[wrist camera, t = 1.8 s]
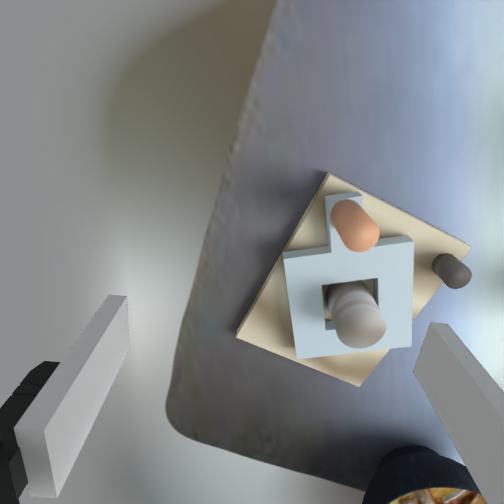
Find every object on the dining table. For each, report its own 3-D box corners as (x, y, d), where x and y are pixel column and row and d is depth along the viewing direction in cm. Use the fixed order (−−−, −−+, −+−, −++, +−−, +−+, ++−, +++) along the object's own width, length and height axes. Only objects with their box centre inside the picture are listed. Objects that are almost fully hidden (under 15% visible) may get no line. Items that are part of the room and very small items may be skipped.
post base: (327, 172, 34) (344, 191, 27) (465, 242, 36) (509, 275, 30) (236, 330, 41) (233, 375, 35) (356, 379, 44) (373, 428, 38)
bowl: (335, 437, 48) (353, 518, 39) (469, 409, 46) (522, 489, 37) (358, 513, 55) (378, 598, 46) (476, 492, 52) (522, 577, 43)
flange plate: (405, 336, 39) (432, 381, 33) (295, 349, 40) (302, 395, 34) (408, 183, 33) (443, 204, 27) (275, 203, 33) (279, 228, 27)
